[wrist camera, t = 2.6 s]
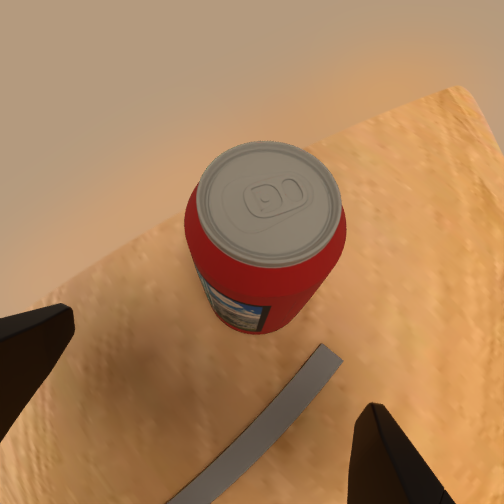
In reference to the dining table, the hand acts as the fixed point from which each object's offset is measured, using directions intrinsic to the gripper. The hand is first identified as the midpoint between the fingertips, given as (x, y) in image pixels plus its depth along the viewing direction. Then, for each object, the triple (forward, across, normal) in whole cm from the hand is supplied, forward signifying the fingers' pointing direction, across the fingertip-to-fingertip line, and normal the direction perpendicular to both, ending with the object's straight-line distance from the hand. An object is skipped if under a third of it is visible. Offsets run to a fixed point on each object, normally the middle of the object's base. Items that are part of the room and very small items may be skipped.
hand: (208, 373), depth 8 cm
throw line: (+5, -2, +13) cm, 14 cm away
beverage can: (+14, 0, +5) cm, 15 cm away
